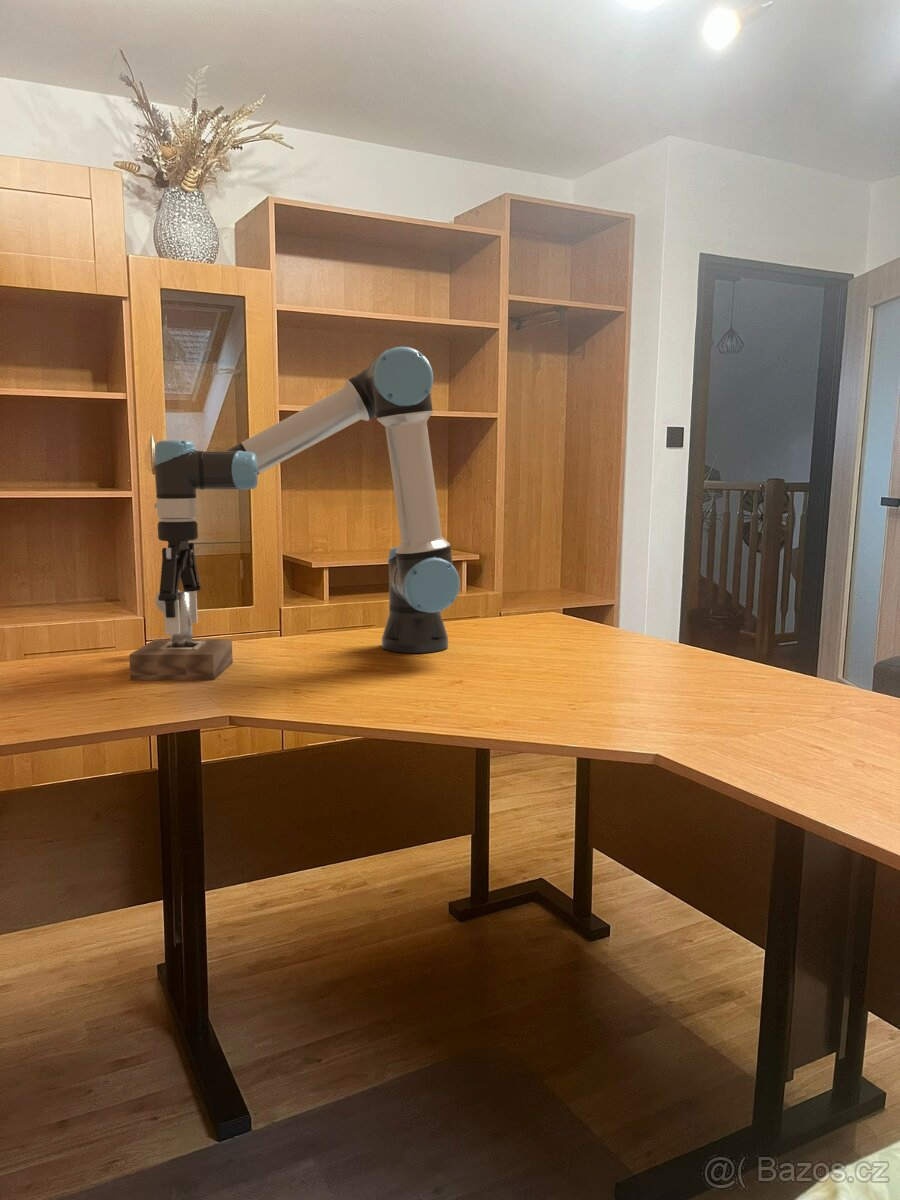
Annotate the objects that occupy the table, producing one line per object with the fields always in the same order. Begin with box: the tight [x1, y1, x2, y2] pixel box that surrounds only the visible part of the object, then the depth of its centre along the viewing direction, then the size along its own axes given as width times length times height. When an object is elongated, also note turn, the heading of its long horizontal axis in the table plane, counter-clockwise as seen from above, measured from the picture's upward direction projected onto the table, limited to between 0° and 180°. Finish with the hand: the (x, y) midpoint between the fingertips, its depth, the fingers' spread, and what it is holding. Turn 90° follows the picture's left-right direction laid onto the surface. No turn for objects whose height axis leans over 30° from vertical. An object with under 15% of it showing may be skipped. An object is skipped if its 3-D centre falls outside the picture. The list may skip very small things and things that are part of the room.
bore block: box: [128, 638, 234, 681], centre depth 181 cm, size 16×16×5 cm
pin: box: [172, 590, 194, 648], centre depth 180 cm, size 4×4×15 cm
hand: (182, 628), depth 180 cm, fingers open, 12 cm apart
